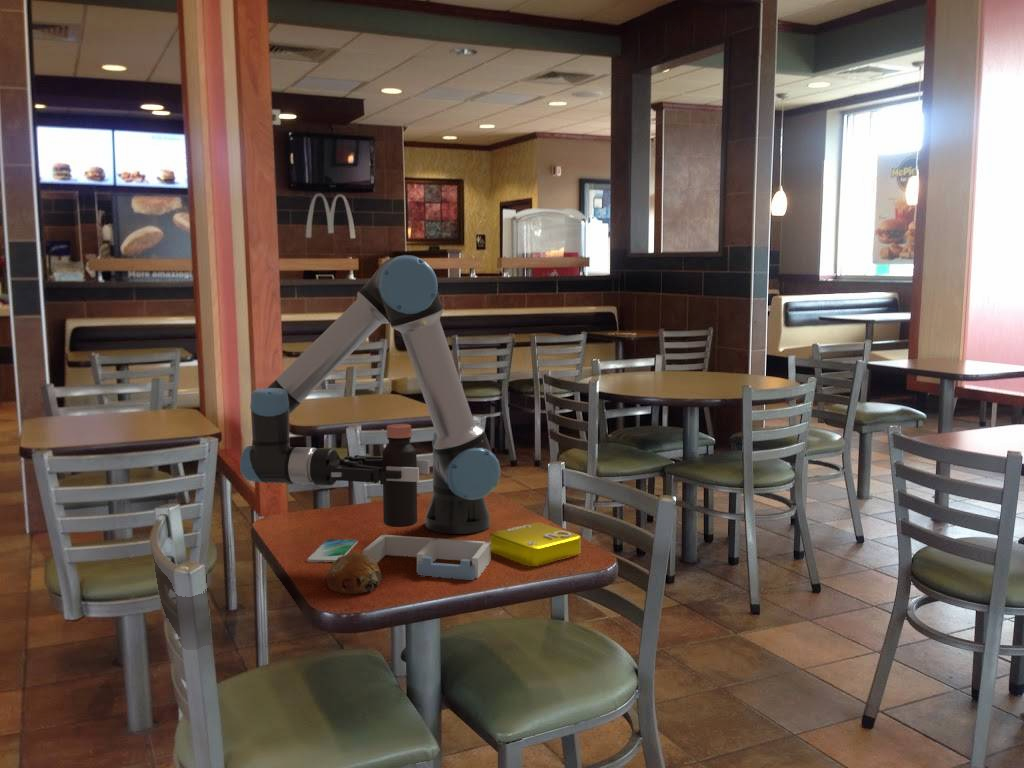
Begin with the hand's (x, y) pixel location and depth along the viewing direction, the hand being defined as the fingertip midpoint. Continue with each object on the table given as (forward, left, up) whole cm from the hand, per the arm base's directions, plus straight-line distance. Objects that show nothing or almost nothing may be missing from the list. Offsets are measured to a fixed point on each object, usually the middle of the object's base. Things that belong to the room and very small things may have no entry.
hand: (423, 470), depth 178 cm
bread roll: (+14, -9, -20) cm, 26 cm away
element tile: (-14, +20, -20) cm, 32 cm away
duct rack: (0, +1, -20) cm, 20 cm away
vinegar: (0, -5, -11) cm, 12 cm away
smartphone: (-5, -22, -20) cm, 30 cm away
